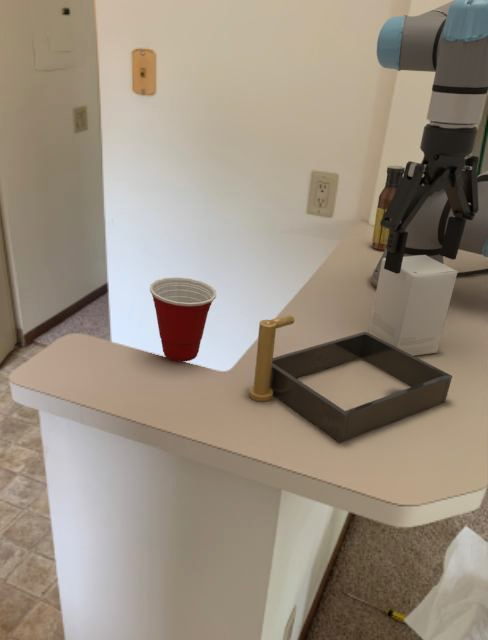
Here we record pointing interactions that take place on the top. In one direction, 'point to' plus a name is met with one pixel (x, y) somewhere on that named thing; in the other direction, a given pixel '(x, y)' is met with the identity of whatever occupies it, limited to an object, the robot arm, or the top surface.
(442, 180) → the robot arm
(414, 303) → the rectangular carton
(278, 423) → the top surface
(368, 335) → the sink
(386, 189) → the sauce bottle
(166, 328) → the plastic cup
